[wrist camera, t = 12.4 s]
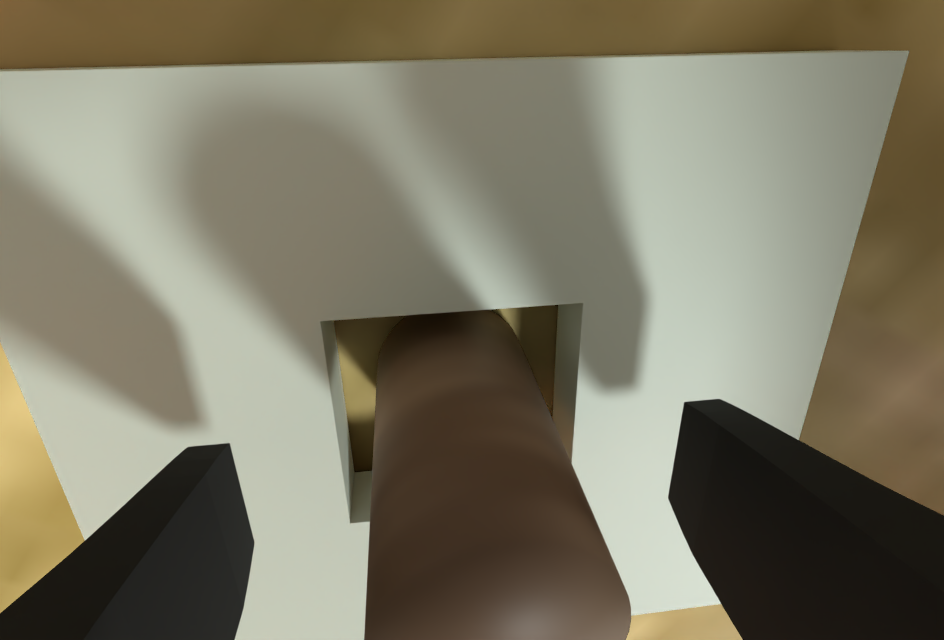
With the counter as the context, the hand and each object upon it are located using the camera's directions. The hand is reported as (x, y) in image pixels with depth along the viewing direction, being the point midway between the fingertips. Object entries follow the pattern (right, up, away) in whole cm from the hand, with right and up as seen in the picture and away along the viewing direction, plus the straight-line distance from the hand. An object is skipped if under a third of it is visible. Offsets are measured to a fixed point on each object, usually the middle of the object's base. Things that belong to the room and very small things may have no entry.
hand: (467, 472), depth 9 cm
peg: (0, +1, +3) cm, 3 cm away
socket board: (0, +1, +3) cm, 3 cm away
